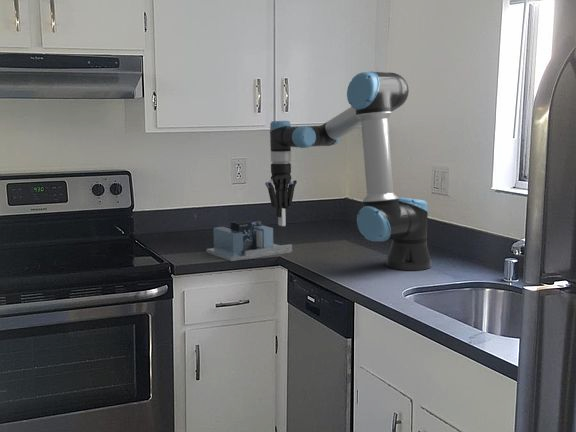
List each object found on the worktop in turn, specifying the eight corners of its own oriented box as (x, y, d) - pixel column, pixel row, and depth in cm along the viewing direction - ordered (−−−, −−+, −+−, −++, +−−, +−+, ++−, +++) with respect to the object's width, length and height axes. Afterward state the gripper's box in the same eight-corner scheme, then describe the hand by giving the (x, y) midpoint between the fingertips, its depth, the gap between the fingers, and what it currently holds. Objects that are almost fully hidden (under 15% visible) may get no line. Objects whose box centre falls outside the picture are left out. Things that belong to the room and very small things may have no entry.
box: (238, 252, 268) (238, 223, 266) (230, 249, 272) (230, 221, 270) (256, 250, 272) (256, 221, 270) (248, 247, 277) (248, 219, 275)
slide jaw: (273, 249, 271) (273, 223, 270) (262, 251, 269) (262, 224, 267) (252, 243, 283) (252, 218, 281) (242, 244, 280) (242, 219, 279)
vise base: (292, 252, 274) (292, 227, 272) (231, 261, 259) (231, 235, 258) (265, 244, 288) (265, 220, 287) (206, 252, 274) (206, 227, 272)
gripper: (289, 161, 283) (290, 222, 287) (260, 163, 276) (262, 226, 279) (301, 162, 277) (301, 224, 281) (271, 164, 270) (273, 228, 273)
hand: (282, 225), depth 280 cm, fingers closed
